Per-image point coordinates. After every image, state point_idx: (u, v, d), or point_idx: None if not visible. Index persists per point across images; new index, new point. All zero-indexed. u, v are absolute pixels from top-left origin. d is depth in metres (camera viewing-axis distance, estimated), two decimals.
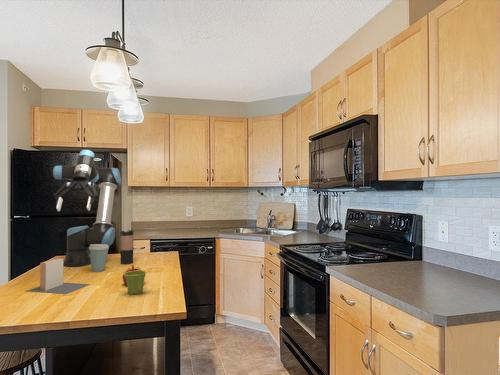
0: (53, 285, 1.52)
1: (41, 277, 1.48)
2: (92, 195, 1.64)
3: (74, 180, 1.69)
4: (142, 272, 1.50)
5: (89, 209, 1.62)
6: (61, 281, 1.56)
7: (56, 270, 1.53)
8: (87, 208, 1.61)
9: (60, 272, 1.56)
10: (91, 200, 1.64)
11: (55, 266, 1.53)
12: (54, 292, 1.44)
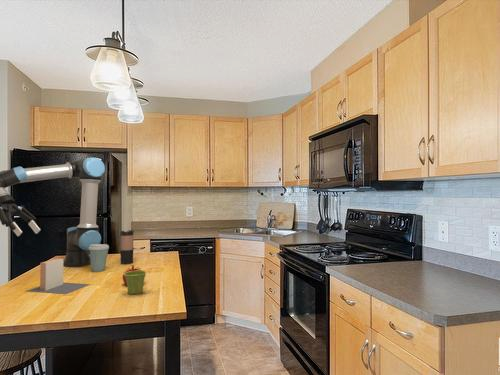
0: (53, 285, 1.52)
1: (41, 277, 1.48)
2: (6, 226, 1.53)
3: None
4: (142, 272, 1.50)
5: (19, 232, 1.52)
6: (61, 281, 1.56)
7: (56, 270, 1.53)
8: (19, 235, 1.53)
9: (60, 272, 1.56)
10: None
11: (55, 266, 1.53)
12: (54, 292, 1.44)
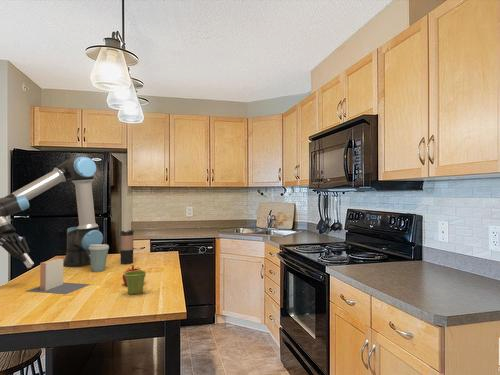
0: (53, 285, 1.52)
1: (41, 277, 1.48)
2: (17, 258, 1.54)
3: None
4: (142, 272, 1.50)
5: (30, 264, 1.53)
6: (61, 281, 1.56)
7: (56, 270, 1.53)
8: (29, 267, 1.54)
9: (60, 272, 1.56)
10: None
11: (55, 266, 1.53)
12: (54, 292, 1.44)
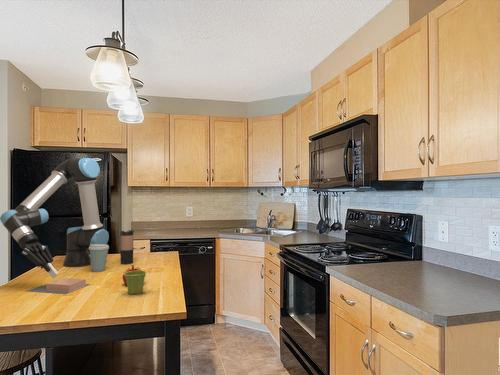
0: None
1: (57, 285, 1.46)
2: None
3: None
4: (142, 272, 1.50)
5: (54, 274, 1.51)
6: None
7: None
8: (54, 276, 1.52)
9: None
10: (46, 269, 1.52)
11: None
12: (54, 292, 1.44)
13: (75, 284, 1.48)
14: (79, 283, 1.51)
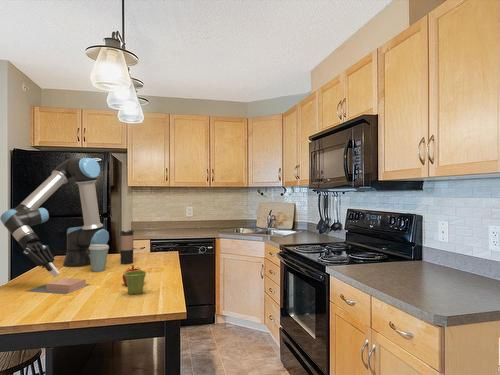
0: None
1: (57, 285, 1.46)
2: (43, 267, 1.52)
3: None
4: (142, 272, 1.50)
5: (56, 274, 1.52)
6: None
7: None
8: (55, 276, 1.52)
9: None
10: None
11: None
12: (54, 292, 1.44)
13: (75, 284, 1.48)
14: (79, 283, 1.51)
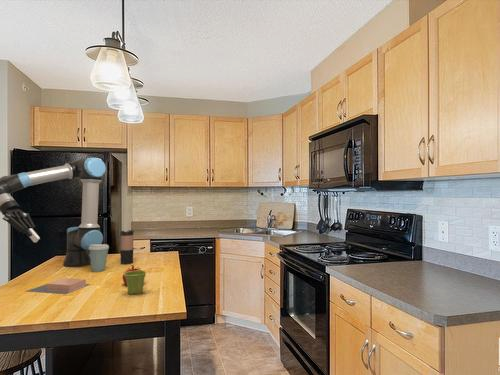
0: None
1: (57, 285, 1.46)
2: (23, 233, 1.56)
3: None
4: (142, 272, 1.50)
5: (36, 239, 1.56)
6: None
7: None
8: (35, 241, 1.56)
9: None
10: None
11: None
12: (54, 292, 1.44)
13: (75, 284, 1.48)
14: (79, 283, 1.51)
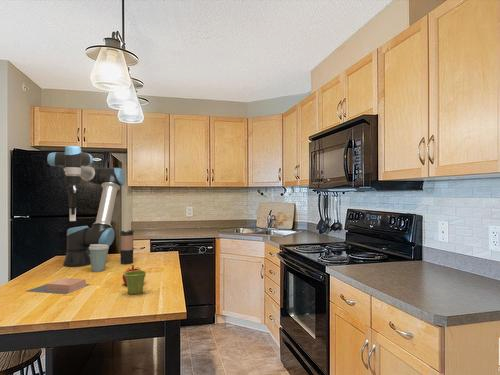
0: None
1: (57, 285, 1.46)
2: None
3: (69, 184, 1.77)
4: (142, 272, 1.50)
5: (74, 220, 1.74)
6: None
7: None
8: (71, 220, 1.74)
9: None
10: (71, 211, 1.73)
11: None
12: (54, 292, 1.44)
13: (75, 284, 1.48)
14: (79, 283, 1.51)
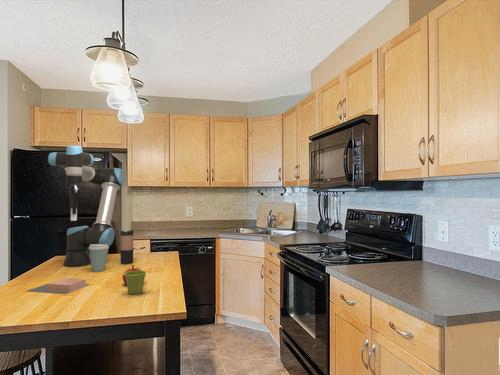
0: None
1: (57, 285, 1.46)
2: (70, 207, 1.73)
3: None
4: (142, 272, 1.50)
5: (75, 219, 1.75)
6: None
7: None
8: (72, 220, 1.74)
9: None
10: (72, 211, 1.74)
11: None
12: (54, 292, 1.44)
13: (75, 284, 1.48)
14: (79, 283, 1.51)
